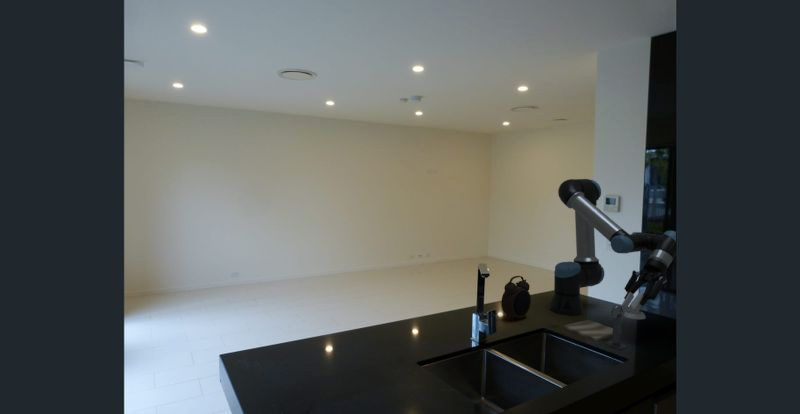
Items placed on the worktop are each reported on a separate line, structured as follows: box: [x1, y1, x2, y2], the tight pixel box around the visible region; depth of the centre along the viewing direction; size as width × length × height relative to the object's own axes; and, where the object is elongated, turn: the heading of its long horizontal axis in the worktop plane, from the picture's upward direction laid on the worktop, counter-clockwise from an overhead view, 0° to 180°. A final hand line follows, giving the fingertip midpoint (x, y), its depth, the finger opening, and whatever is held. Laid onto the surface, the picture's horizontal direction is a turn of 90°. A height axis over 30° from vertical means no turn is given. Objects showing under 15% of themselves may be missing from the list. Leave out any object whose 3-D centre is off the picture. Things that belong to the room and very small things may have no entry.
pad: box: [562, 319, 623, 342], centre depth 173 cm, size 16×16×1 cm
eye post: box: [605, 304, 628, 350], centre depth 157 cm, size 6×5×16 cm
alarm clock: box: [501, 275, 532, 322], centre depth 188 cm, size 14×7×20 cm, turn 123°
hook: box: [623, 291, 647, 320], centre depth 161 cm, size 8×12×7 cm
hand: (629, 308), depth 160 cm, fingers closed on hook, 4 cm apart
